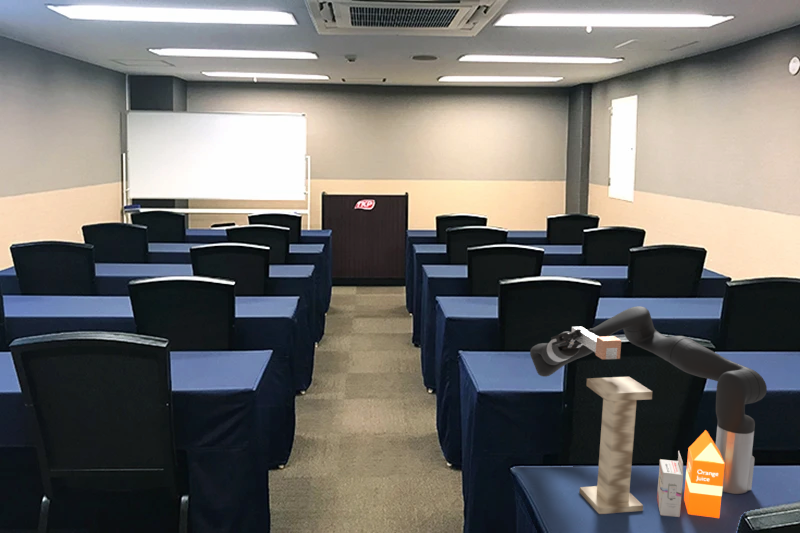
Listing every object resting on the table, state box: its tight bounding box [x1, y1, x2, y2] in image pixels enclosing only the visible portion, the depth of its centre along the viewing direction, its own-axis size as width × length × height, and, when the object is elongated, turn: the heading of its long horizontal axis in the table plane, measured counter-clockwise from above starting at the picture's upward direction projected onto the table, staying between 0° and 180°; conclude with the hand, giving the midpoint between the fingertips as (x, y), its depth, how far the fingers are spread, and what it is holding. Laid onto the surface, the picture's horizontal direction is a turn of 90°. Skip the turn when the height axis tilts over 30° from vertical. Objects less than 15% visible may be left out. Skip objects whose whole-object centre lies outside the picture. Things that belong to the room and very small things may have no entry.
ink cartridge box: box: [656, 450, 684, 518], centre depth 195 cm, size 9×5×15 cm, turn 168°
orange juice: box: [683, 429, 725, 519], centre depth 195 cm, size 8×9×20 cm
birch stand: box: [578, 376, 653, 515], centre depth 197 cm, size 12×12×32 cm
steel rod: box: [571, 326, 622, 360], centre depth 208 cm, size 5×22×5 cm, turn 11°
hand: (585, 332), depth 213 cm, fingers closed on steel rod, 3 cm apart
